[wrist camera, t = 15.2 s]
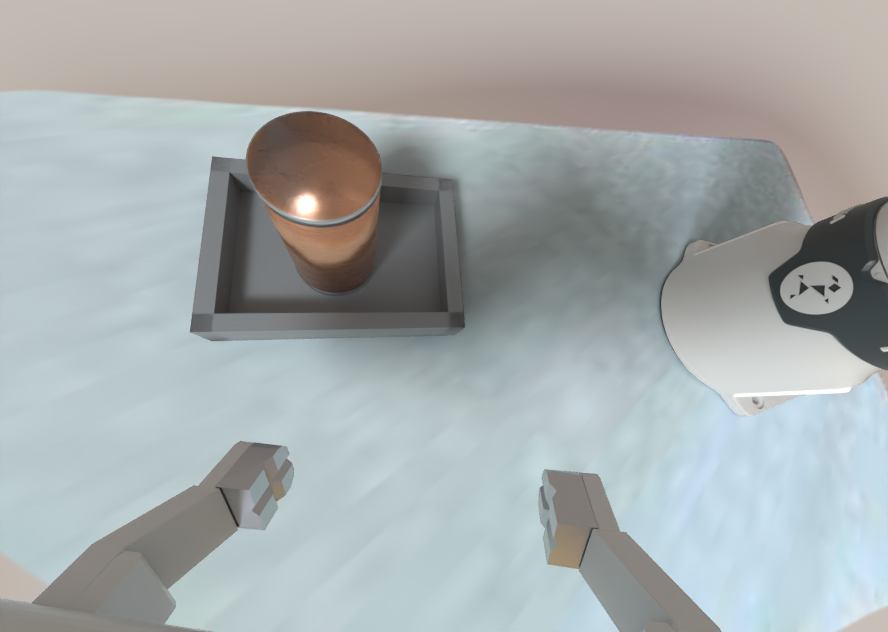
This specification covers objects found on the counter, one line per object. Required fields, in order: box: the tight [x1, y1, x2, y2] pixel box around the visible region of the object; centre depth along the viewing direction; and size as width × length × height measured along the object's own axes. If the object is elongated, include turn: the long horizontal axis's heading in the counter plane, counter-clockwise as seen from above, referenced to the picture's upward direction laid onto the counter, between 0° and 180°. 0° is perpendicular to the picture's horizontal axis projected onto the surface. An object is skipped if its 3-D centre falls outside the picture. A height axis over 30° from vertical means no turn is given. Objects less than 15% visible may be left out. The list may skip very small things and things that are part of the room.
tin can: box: [246, 111, 382, 296], centre depth 20 cm, size 6×6×11 cm
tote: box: [190, 157, 465, 341], centre depth 25 cm, size 18×13×3 cm
